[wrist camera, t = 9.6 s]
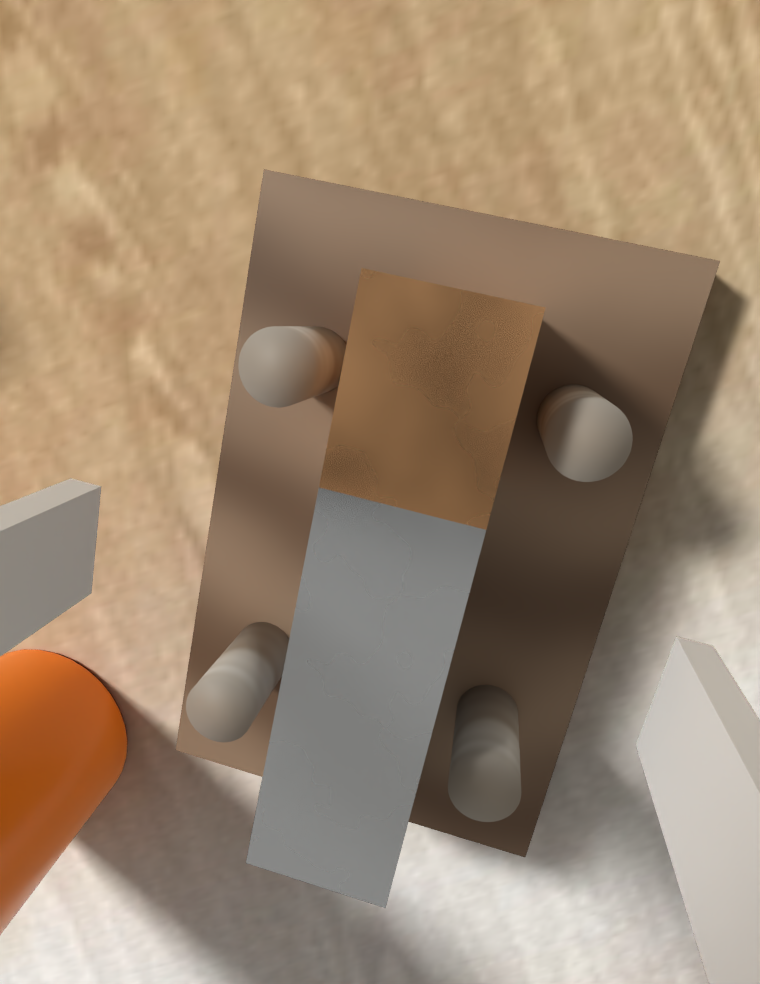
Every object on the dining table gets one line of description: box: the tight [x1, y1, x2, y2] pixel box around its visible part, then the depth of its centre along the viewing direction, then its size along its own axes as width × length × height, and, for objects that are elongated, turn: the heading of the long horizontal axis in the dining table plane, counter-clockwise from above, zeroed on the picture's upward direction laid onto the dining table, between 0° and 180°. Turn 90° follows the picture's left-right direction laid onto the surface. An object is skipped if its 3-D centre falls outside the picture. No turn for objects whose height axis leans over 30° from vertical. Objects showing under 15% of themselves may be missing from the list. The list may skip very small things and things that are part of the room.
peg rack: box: [176, 170, 720, 857], centre depth 21 cm, size 20×13×6 cm, turn 168°
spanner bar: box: [246, 268, 546, 908], centre depth 19 cm, size 16×4×6 cm, turn 168°
